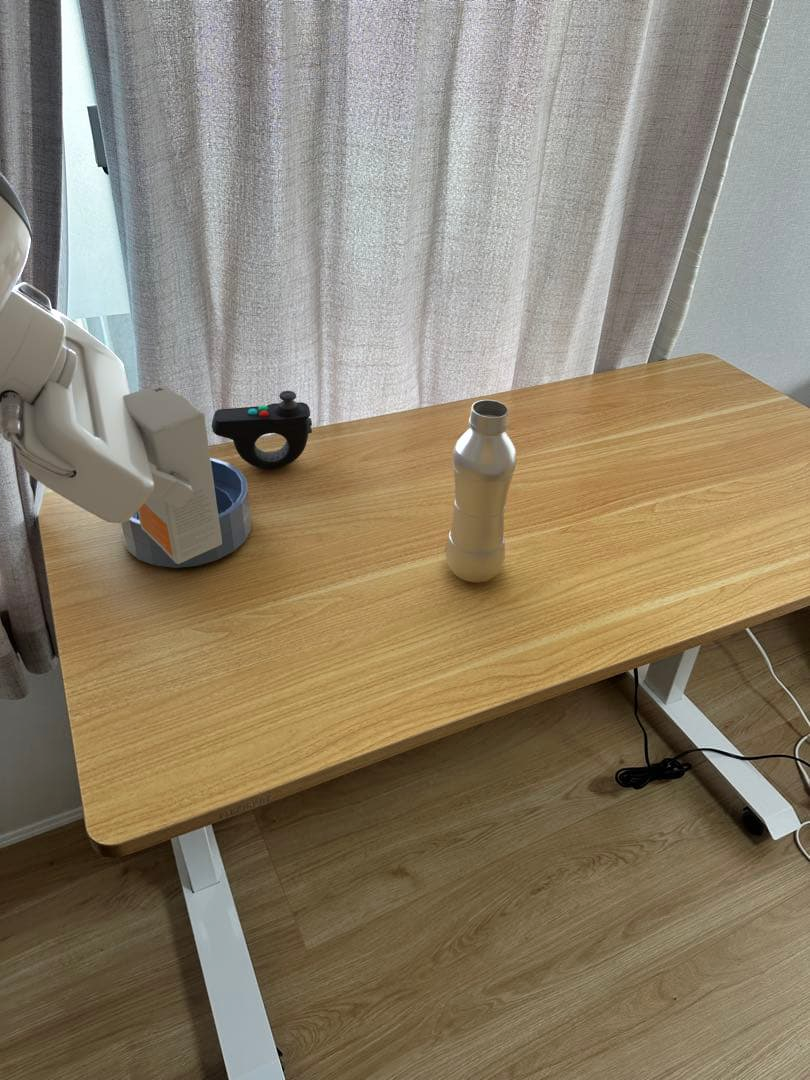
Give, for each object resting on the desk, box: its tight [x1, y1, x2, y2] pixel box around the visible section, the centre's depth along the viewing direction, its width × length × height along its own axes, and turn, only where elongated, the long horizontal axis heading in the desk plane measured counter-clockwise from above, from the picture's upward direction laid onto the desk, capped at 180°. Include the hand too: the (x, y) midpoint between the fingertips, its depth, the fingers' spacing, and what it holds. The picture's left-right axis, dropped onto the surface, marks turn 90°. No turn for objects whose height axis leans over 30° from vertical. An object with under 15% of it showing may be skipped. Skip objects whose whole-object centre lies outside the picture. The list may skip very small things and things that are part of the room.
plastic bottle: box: [444, 399, 518, 583], centre depth 83 cm, size 6×7×20 cm
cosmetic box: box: [123, 383, 222, 564], centre depth 61 cm, size 6×4×12 cm
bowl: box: [118, 457, 252, 569], centre depth 91 cm, size 14×14×6 cm
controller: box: [211, 390, 313, 470], centre depth 101 cm, size 4×12×10 cm, turn 102°
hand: (178, 467), depth 61 cm, fingers closed on cosmetic box, 7 cm apart
